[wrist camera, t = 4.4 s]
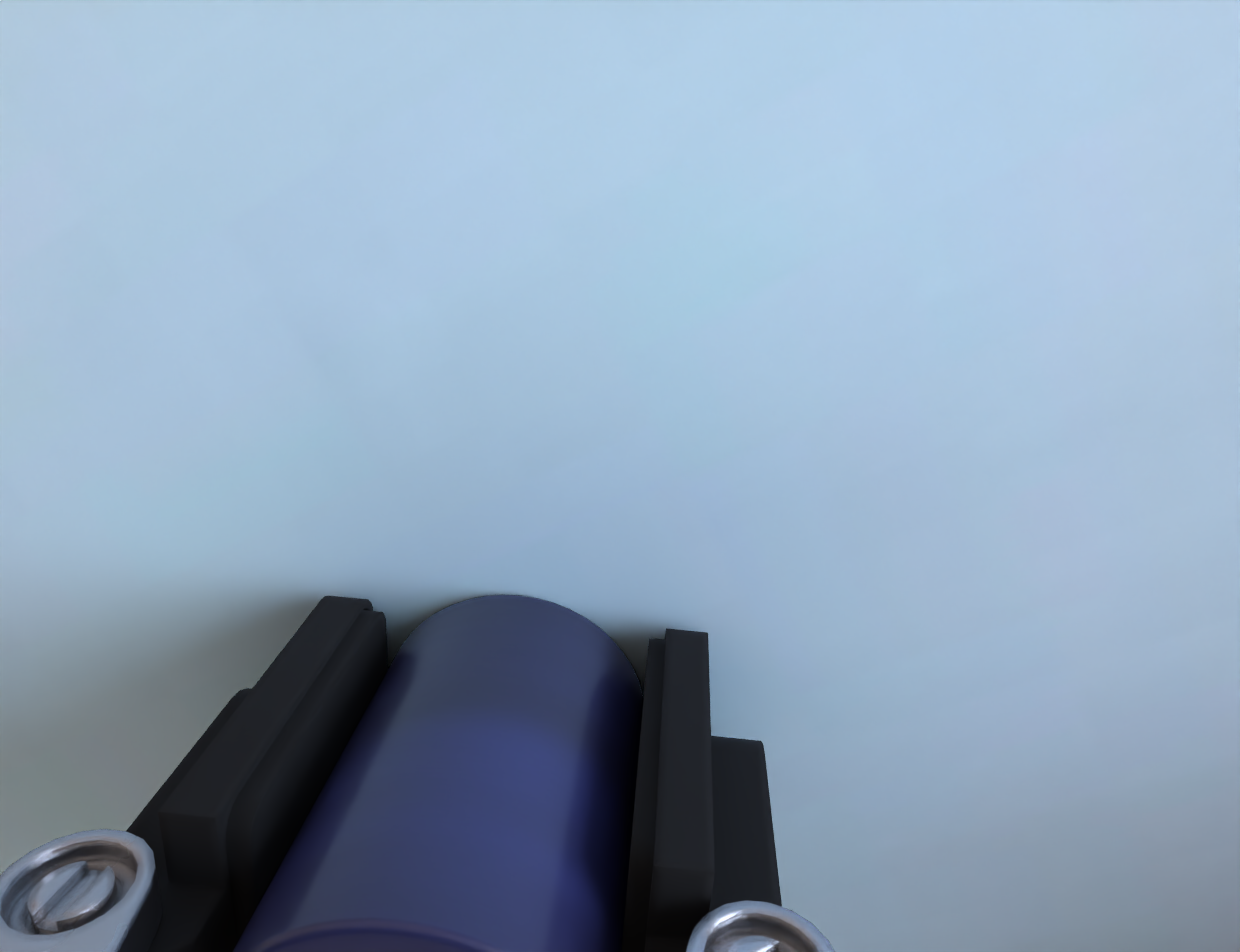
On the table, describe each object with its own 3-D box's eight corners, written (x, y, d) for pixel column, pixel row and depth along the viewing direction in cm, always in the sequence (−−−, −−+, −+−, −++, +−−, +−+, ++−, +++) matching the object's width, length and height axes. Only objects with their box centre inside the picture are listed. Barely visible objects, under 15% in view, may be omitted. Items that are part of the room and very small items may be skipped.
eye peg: (385, 579, 11) (170, 901, 7) (655, 605, 11) (629, 953, 6) (393, 794, 13) (218, 1190, 8) (635, 820, 12) (601, 1239, 8)
